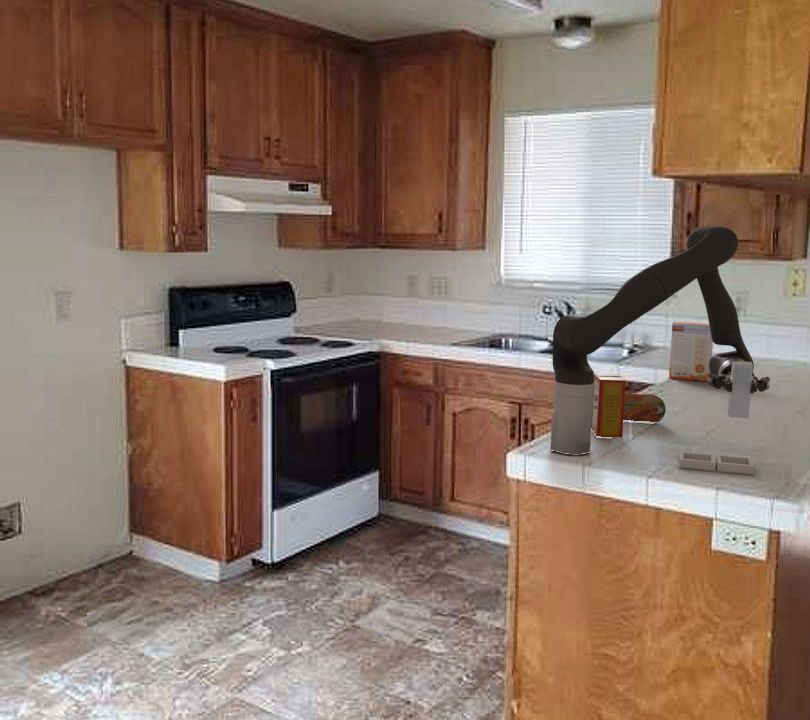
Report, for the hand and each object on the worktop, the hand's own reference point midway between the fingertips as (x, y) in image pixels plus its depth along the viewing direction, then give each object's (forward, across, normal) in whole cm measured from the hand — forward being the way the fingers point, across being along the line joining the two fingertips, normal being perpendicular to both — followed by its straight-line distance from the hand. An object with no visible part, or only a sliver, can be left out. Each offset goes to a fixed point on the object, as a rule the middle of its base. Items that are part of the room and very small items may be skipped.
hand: (741, 388), depth 191 cm
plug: (-3, 0, +7) cm, 7 cm away
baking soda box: (-30, -30, +20) cm, 47 cm away
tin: (-49, -23, +20) cm, 57 cm away
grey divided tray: (-2, -4, +20) cm, 21 cm away
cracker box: (-133, -6, +21) cm, 135 cm away
